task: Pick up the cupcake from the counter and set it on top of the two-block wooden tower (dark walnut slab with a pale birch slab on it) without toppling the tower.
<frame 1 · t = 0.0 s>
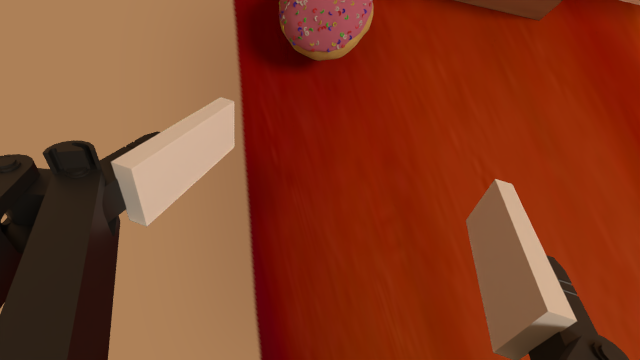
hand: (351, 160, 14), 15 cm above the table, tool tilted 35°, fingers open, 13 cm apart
cupcake: (329, 36, 30), on the table
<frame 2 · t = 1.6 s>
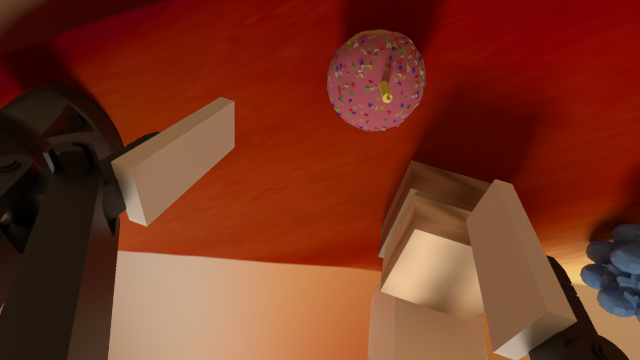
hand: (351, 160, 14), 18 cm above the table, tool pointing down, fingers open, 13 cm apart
cupcake: (379, 71, 29), on the table
block top: (442, 242, 31), point 6 cm above the table, touching block bottom
block bottom: (437, 207, 36), on the table, touching block top
milk: (419, 288, 45), on the table
grapes: (611, 222, 31), on the table
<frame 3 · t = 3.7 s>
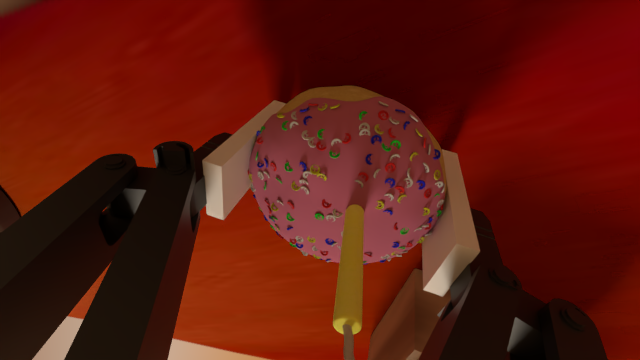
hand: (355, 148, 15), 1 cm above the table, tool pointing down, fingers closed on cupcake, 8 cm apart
cupcake: (359, 139, 16), on the table, touching gripper
block bottom: (454, 327, 23), on the table
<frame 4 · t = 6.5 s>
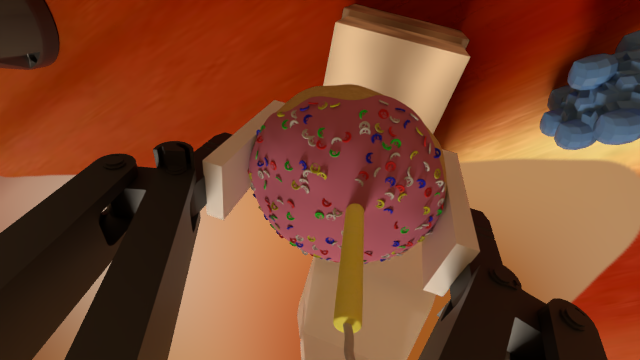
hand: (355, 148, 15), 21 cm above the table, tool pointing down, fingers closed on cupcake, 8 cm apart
cupcake: (359, 138, 16), point 19 cm above the table, touching gripper
block top: (385, 86, 28), point 6 cm above the table, touching block bottom
block bottom: (388, 70, 32), on the table, touching block top
milk: (378, 187, 42), on the table
grapes: (575, 65, 28), on the table
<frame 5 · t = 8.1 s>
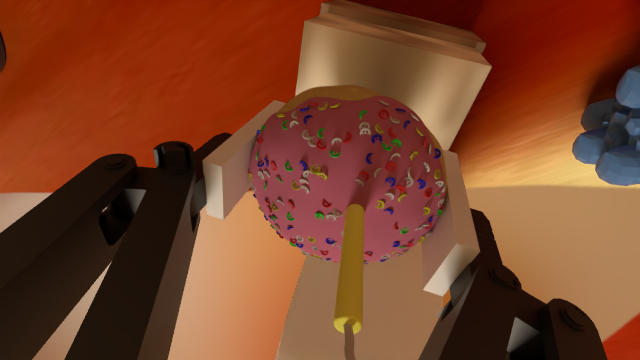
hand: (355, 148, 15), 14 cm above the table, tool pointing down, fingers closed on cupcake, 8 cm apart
cupcake: (359, 139, 16), point 13 cm above the table, touching gripper
block top: (377, 101, 22), point 6 cm above the table, touching block bottom
block bottom: (383, 80, 27), on the table, touching block top
milk: (372, 213, 36), on the table
grapes: (617, 72, 22), on the table
when the fingers open (13 cm above the table, at t = 8.7 s): cupcake drops 1 cm, resting on block top.
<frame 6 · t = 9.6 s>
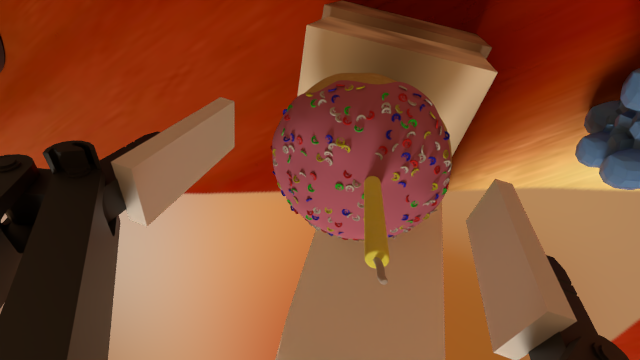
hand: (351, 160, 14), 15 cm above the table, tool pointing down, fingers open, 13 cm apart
cupcake: (368, 130, 18), point 11 cm above the table, touching block top
block top: (379, 105, 22), point 6 cm above the table, touching block bottom, cupcake
block bottom: (385, 83, 26), on the table, touching block top
milk: (372, 215, 35), on the table
grapes: (621, 74, 21), on the table
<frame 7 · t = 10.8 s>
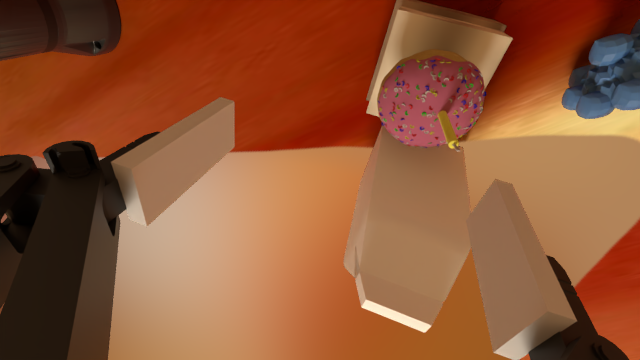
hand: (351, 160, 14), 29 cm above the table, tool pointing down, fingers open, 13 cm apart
cupcake: (429, 80, 28), point 11 cm above the table, touching block top
block top: (429, 68, 32), point 6 cm above the table, touching block bottom, cupcake
block bottom: (426, 56, 36), on the table, touching block top
milk: (407, 165, 45), on the table
grapes: (594, 47, 31), on the table
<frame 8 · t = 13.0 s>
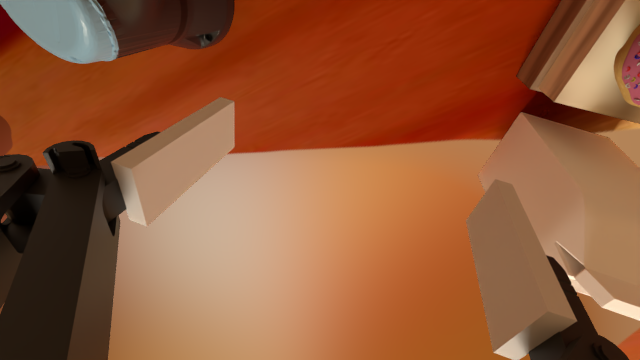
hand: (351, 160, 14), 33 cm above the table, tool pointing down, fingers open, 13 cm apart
block top: (617, 53, 30), point 6 cm above the table, touching block bottom, cupcake
block bottom: (588, 42, 35), on the table, touching block top
milk: (536, 157, 44), on the table
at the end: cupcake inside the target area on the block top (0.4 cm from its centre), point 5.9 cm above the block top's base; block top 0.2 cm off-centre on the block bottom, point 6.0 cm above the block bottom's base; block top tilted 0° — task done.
